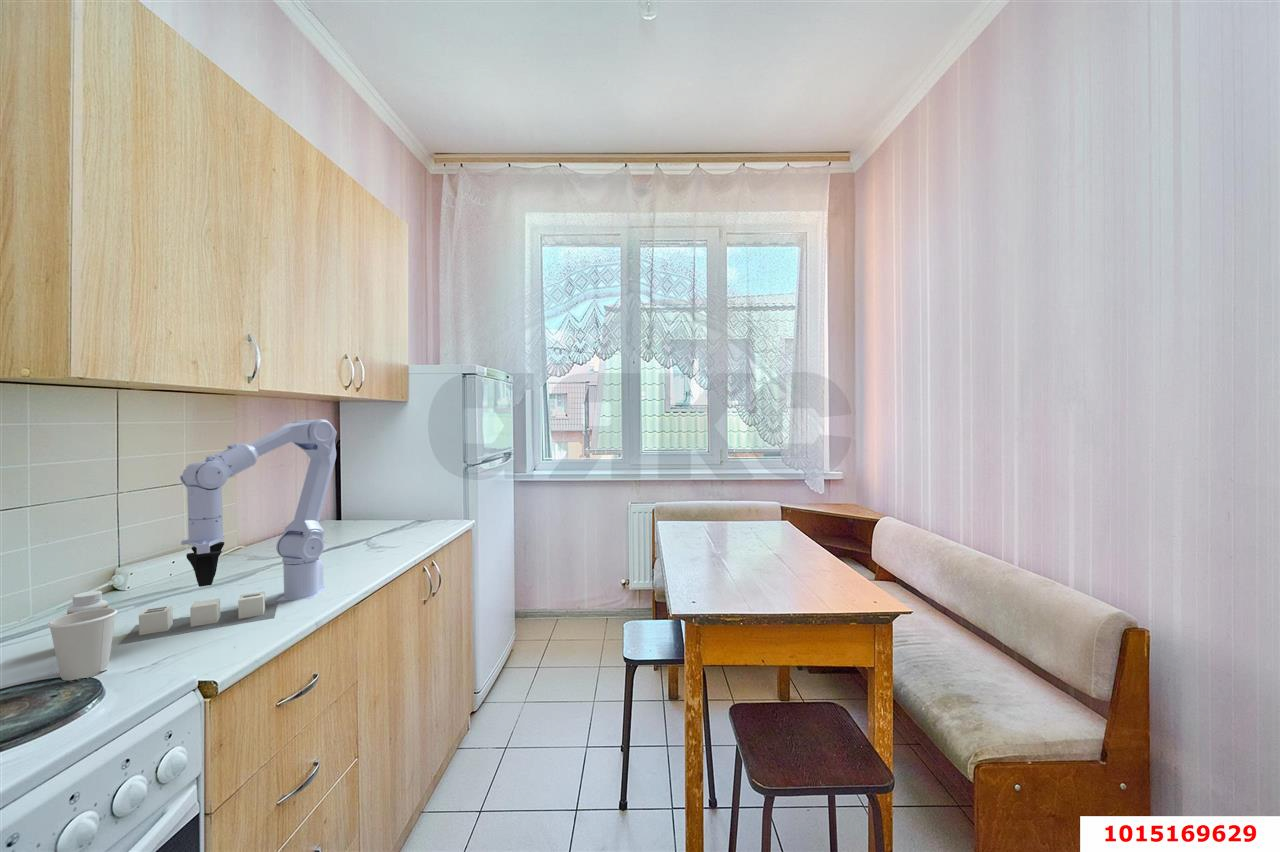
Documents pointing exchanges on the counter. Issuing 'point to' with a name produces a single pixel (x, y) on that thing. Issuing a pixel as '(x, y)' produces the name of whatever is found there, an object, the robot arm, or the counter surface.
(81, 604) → the supplement bottle
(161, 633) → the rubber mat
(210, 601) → the plain block
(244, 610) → the one bar block
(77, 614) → the dixie cup
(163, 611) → the two bar block
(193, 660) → the counter surface
